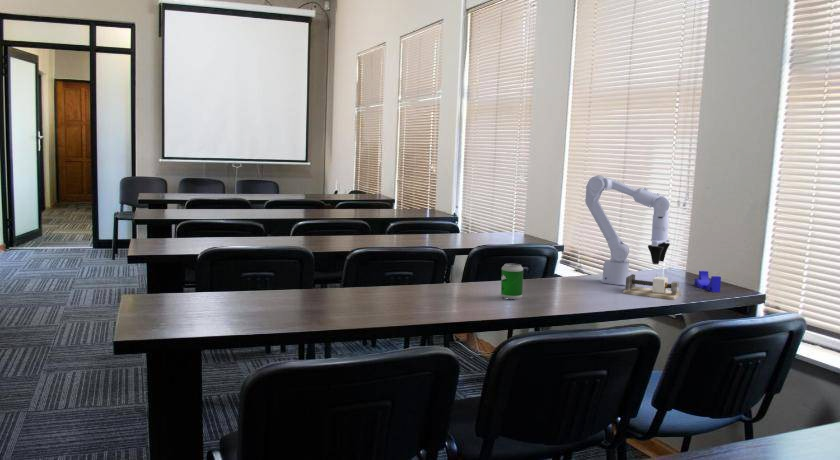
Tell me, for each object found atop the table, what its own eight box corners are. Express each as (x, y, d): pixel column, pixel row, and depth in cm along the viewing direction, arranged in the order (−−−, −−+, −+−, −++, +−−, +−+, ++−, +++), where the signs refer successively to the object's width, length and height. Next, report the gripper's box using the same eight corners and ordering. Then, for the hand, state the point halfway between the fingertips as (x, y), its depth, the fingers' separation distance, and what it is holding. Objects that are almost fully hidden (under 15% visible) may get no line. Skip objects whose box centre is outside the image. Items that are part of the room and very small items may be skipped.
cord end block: (652, 291, 238) (653, 278, 237) (655, 289, 242) (656, 276, 242) (663, 293, 236) (664, 279, 235) (667, 291, 240) (667, 277, 239)
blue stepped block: (694, 285, 257) (695, 270, 256) (705, 285, 257) (706, 271, 256) (708, 292, 245) (709, 276, 244) (720, 292, 245) (721, 277, 244)
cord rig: (623, 293, 242) (624, 277, 241) (631, 288, 250) (631, 273, 249) (674, 299, 232) (675, 283, 231) (680, 294, 240) (681, 279, 239)
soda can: (524, 297, 234) (525, 264, 232) (518, 301, 227) (519, 267, 225) (504, 295, 237) (505, 262, 235) (498, 299, 230) (499, 265, 228)
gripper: (666, 230, 243) (664, 266, 245) (675, 226, 255) (673, 261, 257) (646, 229, 247) (644, 264, 249) (656, 225, 259) (654, 259, 261)
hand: (658, 262), depth 253 cm, fingers open, 7 cm apart
